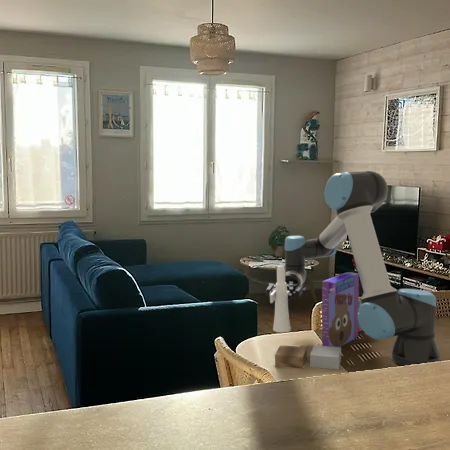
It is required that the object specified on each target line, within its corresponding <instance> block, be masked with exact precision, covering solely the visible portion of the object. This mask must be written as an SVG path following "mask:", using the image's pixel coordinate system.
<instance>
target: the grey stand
mask: <svg viewBox="0 0 450 450" xmlns="http://www.w3.org/2000/svg"><path fill="white" fill-rule="evenodd" d="M341 361H342V346H341V347H328V346H322V345H313V347H312V349H311V352H310V354H309V367H310V368H318V369H329V370H331V369H332V370H340V365H341Z"/></svg>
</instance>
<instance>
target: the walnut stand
mask: <svg viewBox="0 0 450 450" xmlns="http://www.w3.org/2000/svg"><path fill="white" fill-rule="evenodd" d="M307 359H308V348H307V346H298V345H296V346H295V345H285V344H284V345H283V344H279V346H278V349H277V350H276V352H275V353H274V367H279V368H286V369H301V370H303V369H304V368H305V364H306V362H307Z"/></svg>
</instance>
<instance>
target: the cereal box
mask: <svg viewBox="0 0 450 450" xmlns="http://www.w3.org/2000/svg"><path fill="white" fill-rule="evenodd" d="M359 282H360V277H359V274H358V273H357V272H353V271H348V272H344V273H341V274H339V275H336V276H333V277H330V278H328V279H325V280H322V282H321V334H322V335H321V339H322V340H321V346H328V347H341V348H342V347H344V346H345V345H346V344H348V343H350V342H353V341H354V340H356V339H357V337H358V338H359V332H358V317H357V313H358V308H359V301H360V299H359V296H360V295H359V291H360V290H359V286H360V283H359Z"/></svg>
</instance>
